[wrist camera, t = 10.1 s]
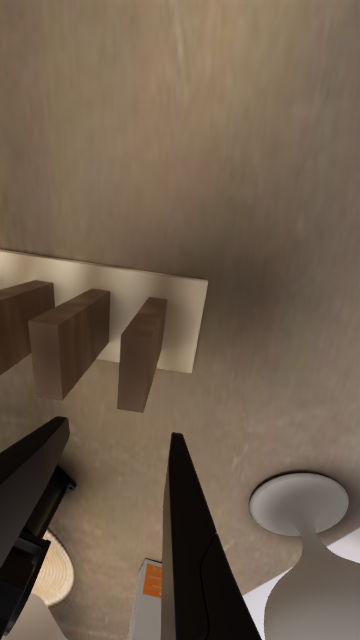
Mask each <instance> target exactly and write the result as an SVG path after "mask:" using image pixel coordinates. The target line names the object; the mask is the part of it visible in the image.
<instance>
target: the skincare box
mask: <svg viewBox="0 0 360 640" xmlns="http://www.w3.org/2000/svg"><path fill="white" fill-rule="evenodd" d="M161 595H162V563H158V562H155V561H151V560H149V559H145V561H144V563H143V565H142V567H141V569H140V571H139V576H138V582H137V587H136V593H135V599H134V605H133V611H132V617H131V623H130V629H129V635H128V640H161Z"/></svg>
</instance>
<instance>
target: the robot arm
mask: <svg viewBox="0 0 360 640" xmlns="http://www.w3.org/2000/svg"><path fill="white" fill-rule="evenodd" d="M69 434H70V432H69V422H68V418H66V417H60V416H58V417H55V418H53V419H52V420H50V421H49V422H47V423H46V424H44V425H43V426H41V427H39V428H38V429H36V430H35V431H33V432H32V433H30V434H29V435H27V436H26V437H24V438H23V439H21V440H20V441H18V442H16V443H15V444H13V445H12V446H10V447H9V448H7V449H6V450H4V451H3V452H1V453H0V640H1V638H2V636H7V635H8V634H9V632H10V631H11V629H12V628H13V626H14V624H15V623H16V621H17V619H18V617H19V615H20V614H21V611H22V610H23V608H24V606H25V604H26V602H27V600H28V597H29V595H30V593H31V591H32V588H33V586H34V584H35V581H36V579H37V576H38V574H39V571H40V569H41V566H42V564H43V561H44V559H45V556H46V554H47V551H48V549H49V546H50V544H51V541H49V540H44V539H42V538H43V536H44V534H45V532H46V530H47V528H48V526H49V524H50V522H51V520H52V518H53V516H54V514H55V512H56V510H57V508H58V506H59V504H60V502H61V500H62V498H63V496H64V494H65V493H68V492H71V491H73V490H74V489H75V487H76V484H75V483H74V482H73V481H72V480H71V479H70V478H69V477H68V476H67V475H66V474H65V473H64V472H63V471H62V470H61V469H60V468H59V467H58V466H57V463H58V461H59V458H60V456H61V454H62V452H63V450H64V447H65V445H66V443H67V441H68V438H69ZM216 533H217V531H216V528H215V525H214V522H213V519H212V516H211V514H210V511H209V508H208V505H207V502H206V499H205V496H204V494H203V491H202V488H201V485H200V482H199V479H198V477H197V474H196V471H195V468H194V465H193V462H192V460H191V457H190V454H189V451H188V448H187V445H186V442H185V440H184V437H183V435H182V434H181V433H175V432H173V433H172V435H171V442H170V450H169V458H168V466H167V474H166V482H165V491H164V504H163V548H162V595H161V640H262V639H261V637H260V635H259V632H258V630H257V628H256V626H255V624H254V622H253V619H252V617H251V615H250V613H249V610H248V608H247V606H246V604H245V602H244V599H243V597H242V595H241V592H240V590H239V588H238V585H237V583H236V581H235V578H234V576H233V574H232V571H231V569H230V566H229V563H228V561H227V558H226V555H225V553H224V550H223V547H222V544H221V542H220V539H219V536H218V534H216Z"/></svg>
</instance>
